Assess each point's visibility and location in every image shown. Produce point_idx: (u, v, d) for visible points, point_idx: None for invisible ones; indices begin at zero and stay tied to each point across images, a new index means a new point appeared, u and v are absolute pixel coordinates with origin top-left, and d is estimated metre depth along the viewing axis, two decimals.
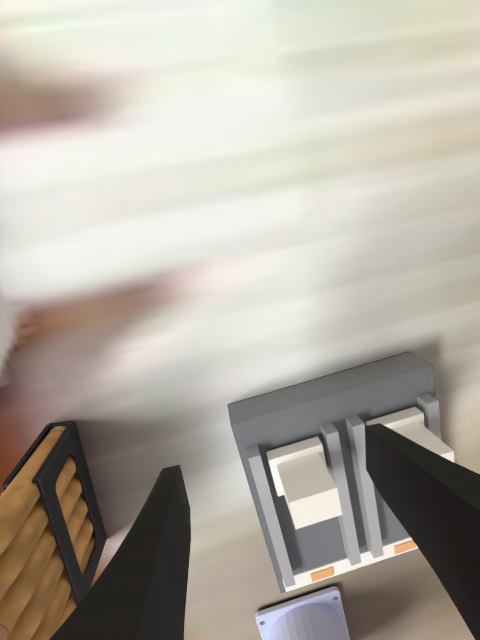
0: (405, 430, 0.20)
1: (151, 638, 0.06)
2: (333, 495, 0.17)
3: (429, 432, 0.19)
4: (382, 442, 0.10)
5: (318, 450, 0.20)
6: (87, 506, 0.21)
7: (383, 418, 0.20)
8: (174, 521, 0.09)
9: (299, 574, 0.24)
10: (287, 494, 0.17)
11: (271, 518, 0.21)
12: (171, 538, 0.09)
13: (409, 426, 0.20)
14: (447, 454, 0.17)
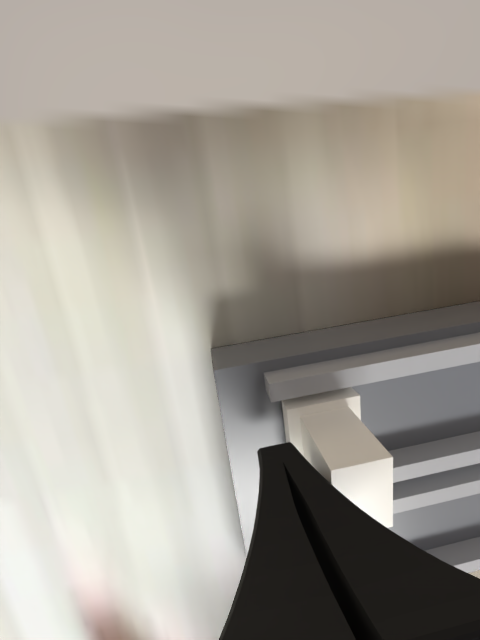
0: (306, 449, 0.12)
1: None
2: None
3: (310, 437, 0.11)
4: (282, 464, 0.10)
5: None
6: None
7: None
8: None
9: None
10: None
11: None
12: None
13: (303, 437, 0.12)
14: (335, 480, 0.09)
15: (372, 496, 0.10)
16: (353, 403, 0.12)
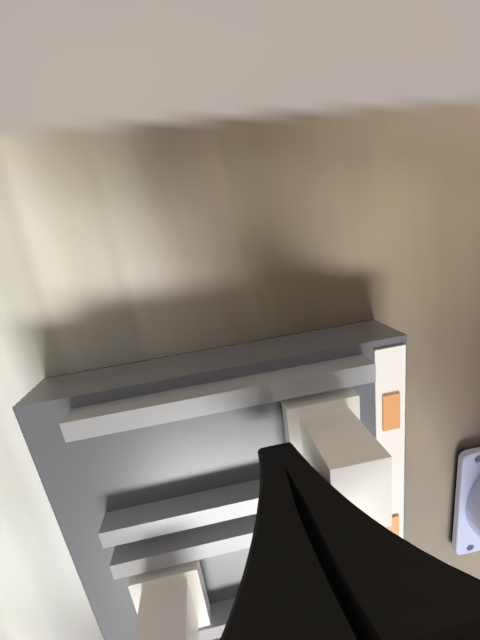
0: (305, 449, 0.12)
1: None
2: None
3: (310, 436, 0.11)
4: (281, 464, 0.10)
5: (138, 589, 0.13)
6: None
7: None
8: None
9: None
10: None
11: None
12: None
13: (302, 437, 0.12)
14: (334, 480, 0.09)
15: (371, 495, 0.10)
16: (353, 403, 0.12)
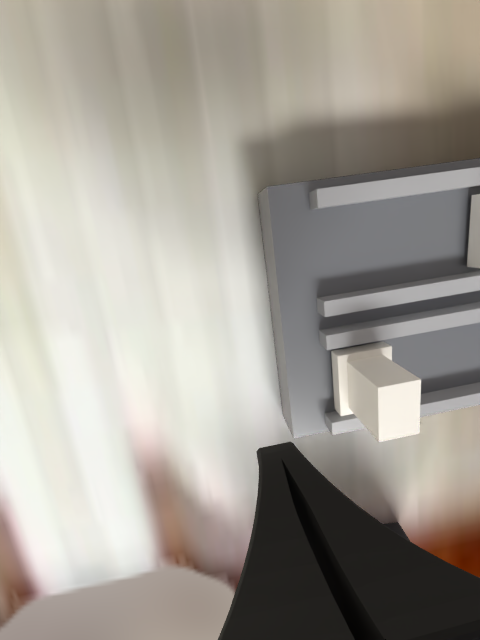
0: None
1: None
2: (387, 391, 0.13)
3: None
4: (282, 463, 0.10)
5: (344, 360, 0.16)
6: None
7: (471, 244, 0.16)
8: None
9: None
10: (372, 433, 0.14)
11: None
12: None
13: None
14: None
15: None
16: None
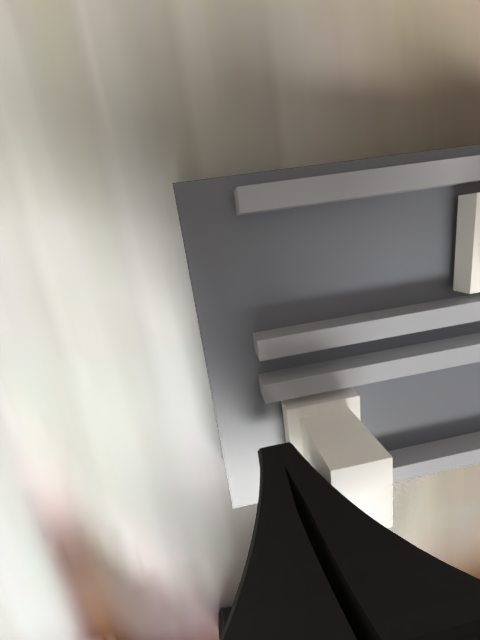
0: None
1: None
2: (344, 474, 0.09)
3: None
4: (281, 464, 0.10)
5: (297, 416, 0.12)
6: None
7: (458, 261, 0.12)
8: None
9: None
10: None
11: None
12: None
13: None
14: None
15: None
16: None
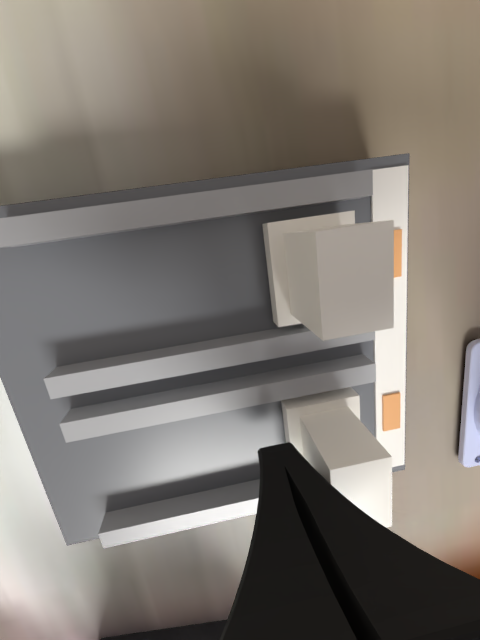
0: (290, 271, 0.10)
1: None
2: (344, 474, 0.09)
3: (294, 236, 0.09)
4: (281, 464, 0.10)
5: (296, 415, 0.12)
6: None
7: (271, 292, 0.11)
8: None
9: None
10: None
11: (227, 513, 0.13)
12: None
13: (286, 257, 0.10)
14: (321, 248, 0.07)
15: (368, 278, 0.08)
16: (347, 220, 0.10)
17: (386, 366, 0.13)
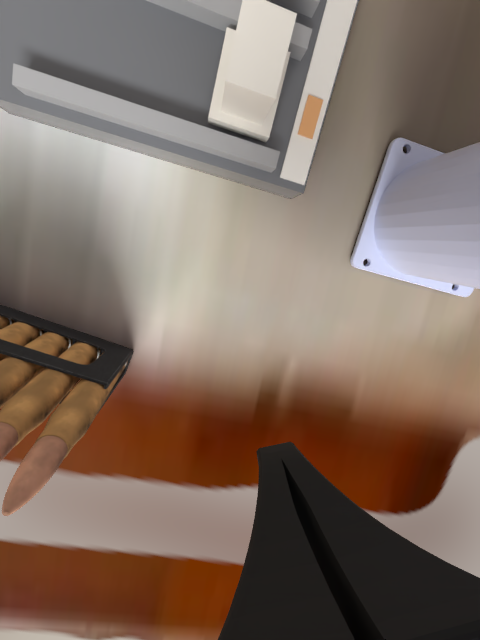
0: None
1: None
2: (254, 5, 0.11)
3: None
4: (282, 463, 0.10)
5: (233, 39, 0.13)
6: (54, 333, 0.18)
7: None
8: None
9: (290, 150, 0.16)
10: (224, 85, 0.12)
11: (138, 115, 0.14)
12: None
13: None
14: None
15: None
16: None
17: (320, 66, 0.15)
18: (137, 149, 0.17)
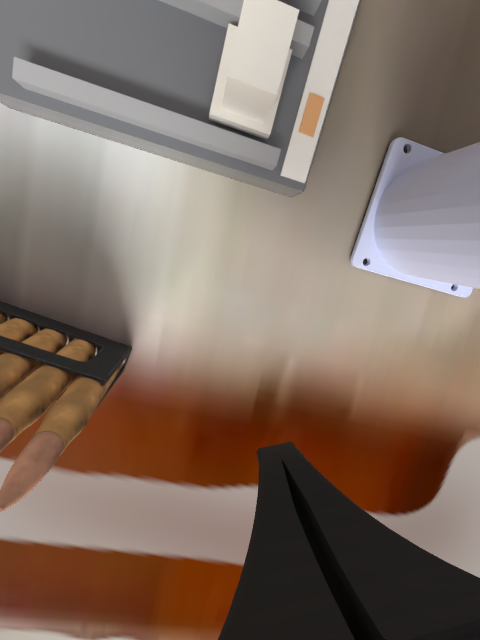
0: None
1: None
2: (257, 0, 0.11)
3: None
4: (282, 463, 0.10)
5: (235, 35, 0.13)
6: (52, 329, 0.18)
7: None
8: None
9: (291, 147, 0.16)
10: (226, 80, 0.12)
11: (139, 110, 0.14)
12: None
13: None
14: None
15: None
16: None
17: (322, 64, 0.15)
18: (137, 145, 0.17)
